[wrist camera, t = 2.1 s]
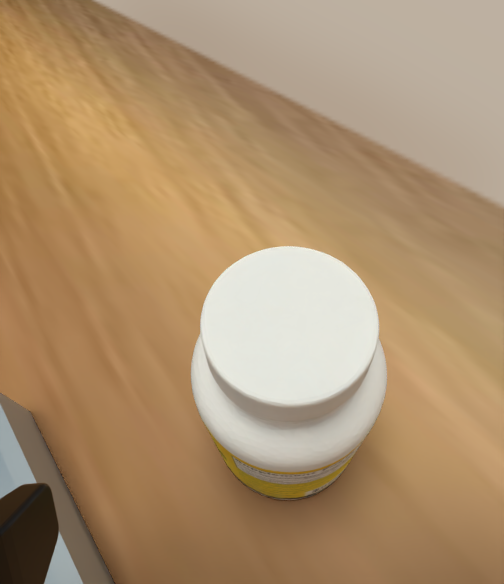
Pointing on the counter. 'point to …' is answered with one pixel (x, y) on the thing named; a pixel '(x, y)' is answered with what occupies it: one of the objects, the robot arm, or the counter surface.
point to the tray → (42, 469)
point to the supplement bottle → (288, 369)
